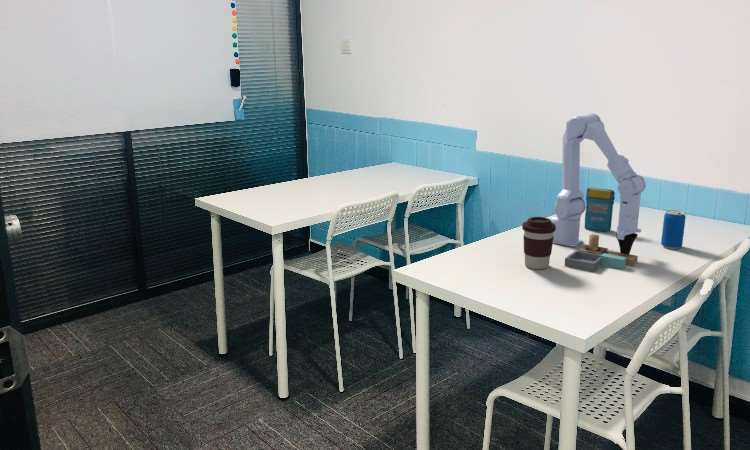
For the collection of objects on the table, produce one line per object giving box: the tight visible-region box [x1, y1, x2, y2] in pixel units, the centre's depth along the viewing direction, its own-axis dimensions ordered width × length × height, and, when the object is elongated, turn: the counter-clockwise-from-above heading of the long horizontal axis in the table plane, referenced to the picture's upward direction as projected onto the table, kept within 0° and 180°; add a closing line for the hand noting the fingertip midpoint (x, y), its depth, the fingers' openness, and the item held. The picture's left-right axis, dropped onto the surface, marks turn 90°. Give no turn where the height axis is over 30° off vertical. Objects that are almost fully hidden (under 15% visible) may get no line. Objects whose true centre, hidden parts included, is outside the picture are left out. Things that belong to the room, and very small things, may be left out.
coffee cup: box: [521, 216, 556, 270], centre depth 200 cm, size 10×10×15 cm
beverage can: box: [660, 209, 686, 250], centre depth 217 cm, size 6×6×12 cm
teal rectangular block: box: [600, 253, 627, 270], centre depth 201 cm, size 7×3×3 cm, turn 53°
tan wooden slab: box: [608, 250, 639, 267], centre depth 205 cm, size 8×5×2 cm, turn 54°
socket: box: [577, 244, 609, 255], centre depth 210 cm, size 7×7×2 cm
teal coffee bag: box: [584, 187, 616, 233], centre depth 236 cm, size 10×4×15 cm, turn 58°
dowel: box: [588, 234, 600, 252], centre depth 209 cm, size 3×3×7 cm
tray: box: [564, 250, 602, 272], centre depth 203 cm, size 9×9×2 cm
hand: (624, 255), depth 207 cm, fingers closed
